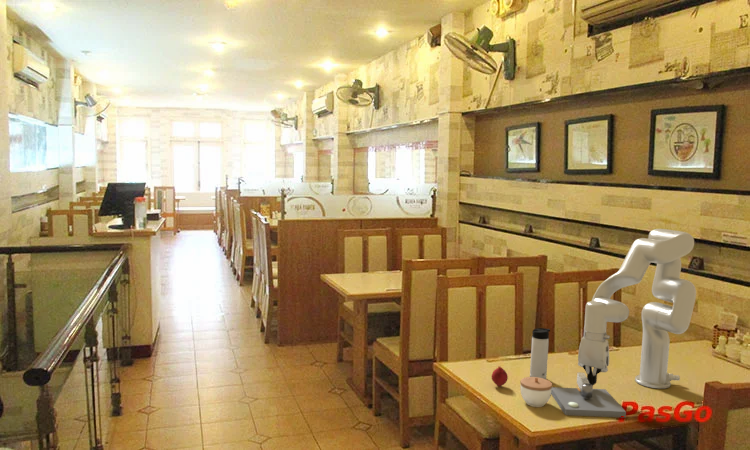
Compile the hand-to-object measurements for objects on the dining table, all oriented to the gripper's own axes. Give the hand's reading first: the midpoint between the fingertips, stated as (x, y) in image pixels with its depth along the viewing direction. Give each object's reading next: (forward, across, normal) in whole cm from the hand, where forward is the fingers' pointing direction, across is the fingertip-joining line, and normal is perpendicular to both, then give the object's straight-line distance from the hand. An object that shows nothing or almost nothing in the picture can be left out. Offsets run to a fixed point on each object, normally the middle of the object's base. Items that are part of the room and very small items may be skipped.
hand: (591, 384), depth 223 cm
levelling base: (+4, -3, +11) cm, 12 cm away
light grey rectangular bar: (+2, 0, +6) cm, 6 cm away
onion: (+4, +28, +18) cm, 33 cm away
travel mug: (+4, +21, -1) cm, 22 cm away
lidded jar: (+4, +10, +23) cm, 26 cm away
